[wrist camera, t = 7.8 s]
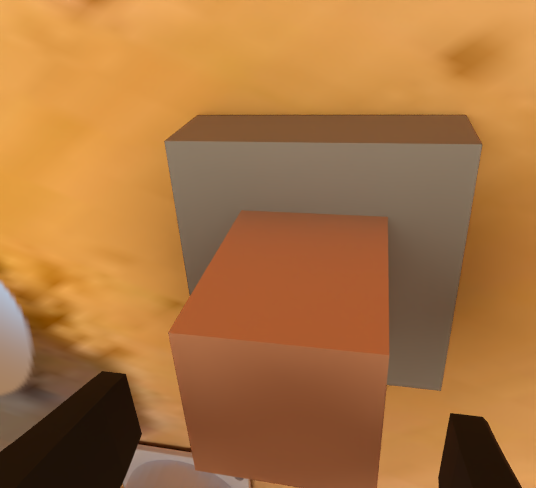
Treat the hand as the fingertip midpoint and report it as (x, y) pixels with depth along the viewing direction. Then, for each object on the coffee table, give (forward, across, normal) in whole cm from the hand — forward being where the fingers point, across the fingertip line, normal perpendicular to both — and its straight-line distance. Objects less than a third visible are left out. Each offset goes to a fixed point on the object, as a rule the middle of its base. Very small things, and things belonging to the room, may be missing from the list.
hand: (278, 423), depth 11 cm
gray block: (+9, 0, 0) cm, 9 cm away
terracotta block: (+6, 0, 0) cm, 6 cm away
